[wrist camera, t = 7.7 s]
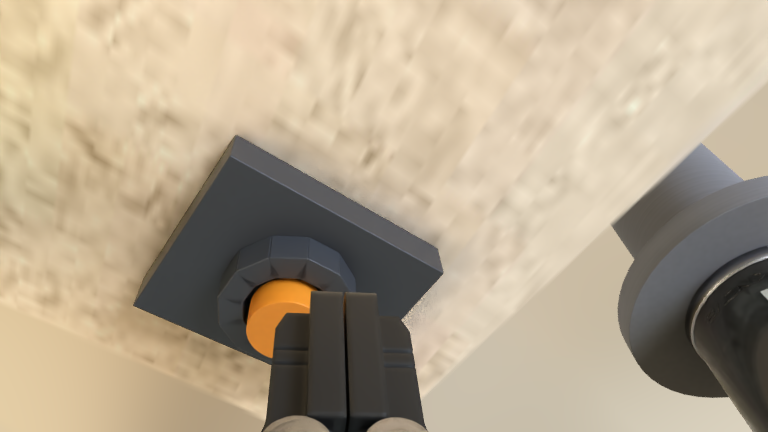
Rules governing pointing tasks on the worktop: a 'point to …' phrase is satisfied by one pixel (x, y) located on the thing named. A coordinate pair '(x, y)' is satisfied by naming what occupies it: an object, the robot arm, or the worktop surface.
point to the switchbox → (277, 249)
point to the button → (275, 310)
